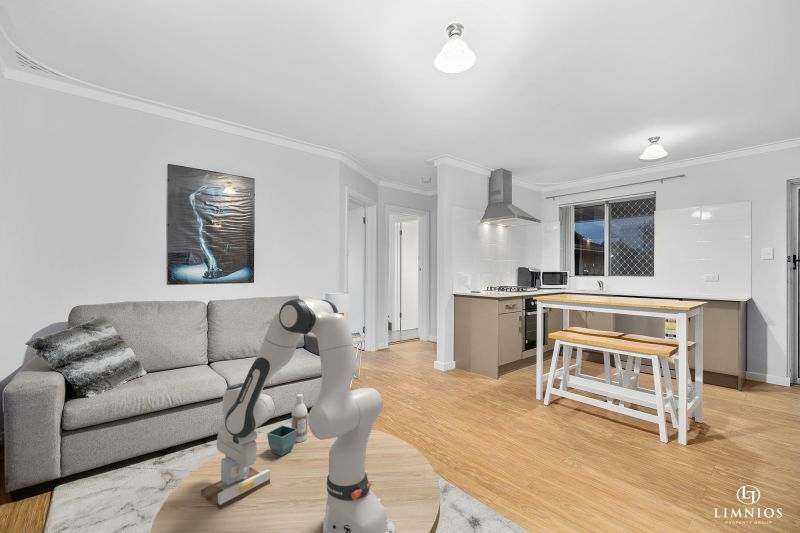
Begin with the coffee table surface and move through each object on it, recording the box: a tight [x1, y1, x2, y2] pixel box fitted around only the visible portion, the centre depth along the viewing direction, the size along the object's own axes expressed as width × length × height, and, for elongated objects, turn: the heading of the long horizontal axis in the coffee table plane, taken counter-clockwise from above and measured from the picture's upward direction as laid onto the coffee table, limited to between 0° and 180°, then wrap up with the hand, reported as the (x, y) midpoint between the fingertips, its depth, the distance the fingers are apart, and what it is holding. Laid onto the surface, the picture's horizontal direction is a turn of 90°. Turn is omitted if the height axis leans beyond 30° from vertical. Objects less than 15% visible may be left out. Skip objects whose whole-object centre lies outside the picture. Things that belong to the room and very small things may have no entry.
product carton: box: [220, 457, 250, 485], centre depth 127 cm, size 5×8×7 cm
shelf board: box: [200, 466, 271, 510], centre depth 126 cm, size 13×18×2 cm
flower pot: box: [266, 425, 297, 457], centre depth 151 cm, size 9×9×9 cm
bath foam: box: [291, 393, 309, 443], centre depth 163 cm, size 7×7×20 cm
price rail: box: [218, 468, 271, 505], centre depth 122 cm, size 2×18×3 cm, turn 144°
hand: (235, 470), depth 126 cm, fingers closed on product carton, 5 cm apart
